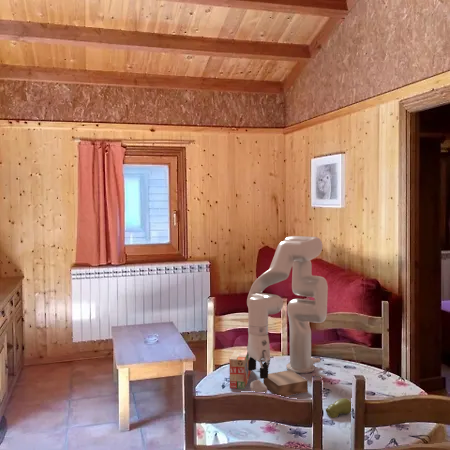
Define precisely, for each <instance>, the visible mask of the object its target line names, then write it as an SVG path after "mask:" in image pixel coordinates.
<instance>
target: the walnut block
mask: <svg viewBox="0 0 450 450" xmlns="http://www.w3.org/2000/svg"><path fill="white" fill-rule="evenodd" d="M262 380H263V382H262V383H264V384H265V386H266V387H267V391H270V393H272V394H273V395H275V394H277V395H281V396H285V397H289V396H295V395H300V394H304V393H308V392H309V389H308V387H309V386H308V385H309V383H308V382H309V381H308V380H307V379H306V378H304V377H303V376H301V375H300V374H299V373H295V372H293V371H292V370H288V369H287V370H284V371H278V372H271V373H268V378H263V379H262Z"/></svg>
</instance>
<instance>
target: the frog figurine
mask: <svg viewBox="0 0 450 450" xmlns="http://www.w3.org/2000/svg"><path fill="white" fill-rule="evenodd" d="M249 386H250V387H249V388H250V390H251V392H252V391H255V392H265V393H266V394H267V393H268V389H267V387H266V386H265V384H264V383H263V382H262V381H261V380H260V379H256V380H255V379H254V380H253V381H251V382H250V385H249Z"/></svg>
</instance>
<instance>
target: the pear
mask: <svg viewBox="0 0 450 450" xmlns="http://www.w3.org/2000/svg"><path fill="white" fill-rule="evenodd" d="M351 403H352V401H351V400H350V399H349V398H346V397H341V398H339V399H337V400H335V401H334V402H333V403H331V404H329V405H328V406H327V408H325V412H326V415H328V416H329V417H330V418H332V419H337V417H338V416H339V415H349V414H350V413H351V412H352V411H351Z"/></svg>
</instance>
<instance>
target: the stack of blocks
mask: <svg viewBox="0 0 450 450" xmlns="http://www.w3.org/2000/svg"><path fill="white" fill-rule="evenodd" d="M251 371H253V370H251ZM251 371H249V370H248V354H247V349H234V350H233V353H232V354H231V355H230V358H229V389H240V390H244V389H246V387H247V385H248V382H249V379H250V376H251V374H252V372H251Z"/></svg>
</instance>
